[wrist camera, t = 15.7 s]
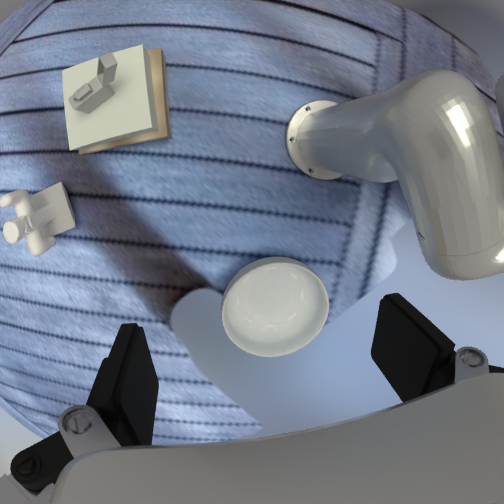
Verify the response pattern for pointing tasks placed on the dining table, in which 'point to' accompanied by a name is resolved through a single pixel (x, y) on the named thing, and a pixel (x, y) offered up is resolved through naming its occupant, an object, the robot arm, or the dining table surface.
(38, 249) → the figurine
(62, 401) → the dining table surface
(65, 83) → the sage top block
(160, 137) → the birch base block
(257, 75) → the dining table surface
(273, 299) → the cereal bowl
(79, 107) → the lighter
